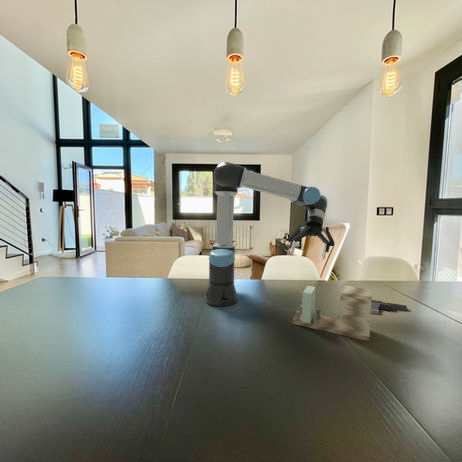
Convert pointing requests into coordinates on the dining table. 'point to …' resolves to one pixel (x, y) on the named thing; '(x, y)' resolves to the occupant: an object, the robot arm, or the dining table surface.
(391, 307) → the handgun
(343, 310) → the wooden rack
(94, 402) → the dining table surface
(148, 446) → the dining table surface
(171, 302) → the dining table surface
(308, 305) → the pale green block
